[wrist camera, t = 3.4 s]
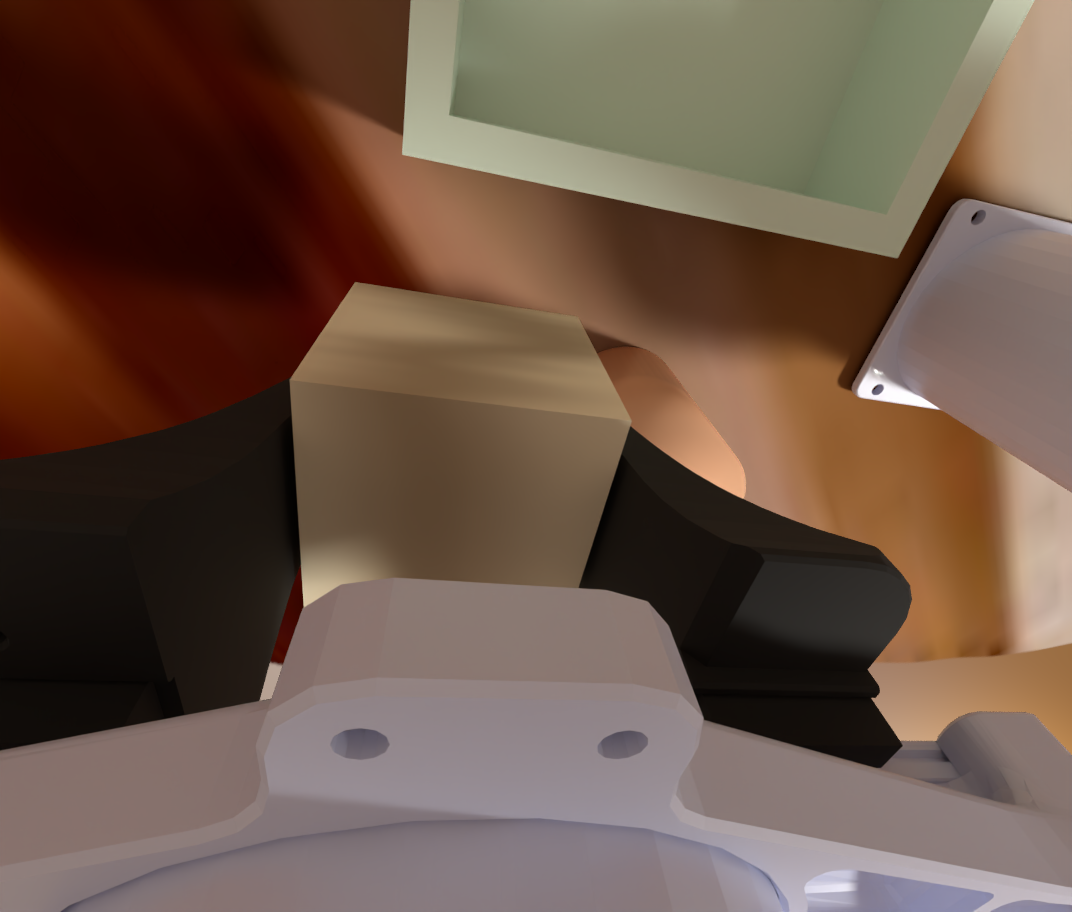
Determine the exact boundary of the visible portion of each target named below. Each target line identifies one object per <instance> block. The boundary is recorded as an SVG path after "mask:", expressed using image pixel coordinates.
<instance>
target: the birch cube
mask: <svg viewBox="0 0 1072 912" xmlns="http://www.w3.org/2000/svg"><path fill="white" fill-rule="evenodd" d="M290 394H291V410H292V426H293V442H294V458H295V474H296V490H297V506H298V522H299V537H300V553H301V569H302V585H303V601H304V607H306V606H307V605H309V604H310V603H312V602H314V601H315V600H317V599H318V598H320V597H322V596H323V595H325V594H326V593H328V592H330V591H331V590H333V589H334V588H336V587H338V586H339V585H341V584H348V583H356V582H364V581H371V580H379V579H387V578H411V579H428V580H445V581H462V582H480V583H497V584H514V585H531V586H548V587H565V588H579V584H580V581H581V578H582V575H583V572H584V569H585V566H586V563H587V559H588V556H589V553H590V550H591V547H592V544H593V541H594V538H595V534H596V531H597V528H598V525H599V522H600V519H601V516H602V513H603V509H604V506H605V503H606V500H607V497H608V494H609V491H610V488H611V484H612V481H613V478H614V475H615V472H616V469H617V466H618V463H619V459H620V456H621V453H622V450H623V447H624V444H625V441H626V438H627V434H628V431H629V428H630V425H631V422H632V420H631V418H630V416H629V414H628V412H627V410H626V409H625V407H624V405H623V403H622V401H621V399H620V397H619V395H618V393H617V391H616V389H615V387H614V385H613V383H612V382H611V380H610V378H609V376H608V374H607V372H606V370H605V368H604V366H603V364H602V362H601V360H600V358H599V357H598V355H597V353H596V351H595V349H594V347H593V345H592V343H591V341H590V339H589V337H588V335H587V333H586V331H585V330H584V328H583V326H582V324H581V322H580V320H579V318H578V317H577V316H571V315H564V314H558V313H551V312H545V311H539V310H532V309H526V308H519V307H513V306H506V305H500V304H493V303H487V302H480V301H474V300H467V299H461V298H454V297H448V296H441V295H435V294H429V293H422V292H416V291H409V290H403V289H396V288H390V287H383V286H377V285H370V284H364V283H357V282H355V283H354V285H353V286H352V288H351V289H350V291H349V292H348V294H347V295H346V297H345V298H344V300H343V301H342V303H341V304H340V306H339V307H338V309H337V310H336V312H335V313H334V315H333V316H332V318H331V319H330V321H329V322H328V324H327V325H326V327H325V328H324V329H323V331H322V332H321V334H320V335H319V337H318V338H317V340H316V341H315V343H314V344H313V346H312V347H311V349H310V350H309V352H308V353H307V355H306V356H305V358H304V359H303V361H302V362H301V364H300V365H299V367H298V368H297V370H296V371H295V373H294V374H293V376H292V377H291V379H290Z"/></svg>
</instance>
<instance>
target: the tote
mask: <svg viewBox="0 0 1072 912" xmlns="http://www.w3.org/2000/svg"><path fill="white" fill-rule="evenodd" d="M1033 2H1034V0H411V4H410V22H409V40H408V59H407V77H406V95H405V114H404V132H403V150H402V155H407V156H411V157H416V158H421V159H426V160H430V161H435V162H440V163H445V164H449V165H454V166H459V167H464V168H469V169H473V170H478V171H483V172H488V173H492V174H497V175H502V176H507V177H512V178H516V179H521V180H526V181H531V182H535V183H540V184H545V185H550V186H554V187H559V188H564V189H569V190H574V191H578V192H583V193H588V194H593V195H597V196H602V197H607V198H612V199H617V200H621V201H626V202H631V203H636V204H640V205H645V206H650V207H655V208H659V209H664V210H669V211H674V212H679V213H683V214H688V215H693V216H698V217H702V218H707V219H712V220H717V221H721V222H726V223H731V224H736V225H741V226H745V227H750V228H755V229H760V230H764V231H769V232H774V233H779V234H784V235H788V236H793V237H798V238H803V239H807V240H812V241H817V242H822V243H826V244H831V245H836V246H841V247H846V248H850V249H855V250H860V251H865V252H869V253H874V254H879V255H884V256H889V257H893V258H898V257H899V255H900V253H901V251H902V249H903V247H904V245H905V243H906V242H907V240H908V238H909V236H910V234H911V232H912V230H913V228H914V226H915V225H916V223H917V221H918V219H919V217H920V215H921V213H922V211H923V209H924V208H925V206H926V204H927V202H928V200H929V198H930V196H931V194H932V192H933V191H934V189H935V187H936V185H937V183H938V181H939V179H940V177H941V176H942V174H943V172H944V170H945V168H946V166H947V164H948V162H949V160H950V159H951V157H952V155H953V153H954V151H955V149H956V147H957V145H958V143H959V142H960V140H961V138H962V136H963V134H964V132H965V130H966V128H967V127H968V125H969V123H970V121H971V119H972V117H973V115H974V113H975V111H976V110H977V108H978V106H979V104H980V102H981V100H982V98H983V96H984V94H985V93H986V91H987V89H988V87H989V85H990V83H991V81H992V79H993V77H994V76H995V74H996V72H997V70H998V68H999V66H1000V64H1001V62H1002V61H1003V59H1004V57H1005V55H1006V53H1007V51H1008V49H1009V47H1010V45H1011V44H1012V42H1013V40H1014V38H1015V36H1016V34H1017V32H1018V30H1019V28H1020V27H1021V25H1022V23H1023V21H1024V19H1025V17H1026V15H1027V13H1028V11H1029V10H1030V8H1031V6H1032V4H1033Z"/></svg>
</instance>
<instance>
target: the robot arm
mask: <svg viewBox="0 0 1072 912" xmlns="http://www.w3.org/2000/svg"><path fill="white" fill-rule="evenodd" d="M976 212H977V216H976V218H975V219H974V220H973V221H972V222H971V219H972V216H973V215H974V214H975V213H976ZM290 379H291V377H290V378H288V379H286V380H284V381H282V382H280V383H278V384H276V385H274V386H272V387H270V388H268V389H266V390H264V391H262V392H260V393H258V394H256V395H254V396H252V397H249V398H247V399H245V400H242V401H240V402H238V403H235V404H233V405H231V406H228V407H226V408H224V409H221V410H219V411H217V412H214V413H212V414H209V415H206V416H204V417H201V418H198V419H195V420H192V421H189V422H186V423H183V424H180V425H177V426H174V427H170V428H167V429H164V430H160V431H157V432H153V433H148V434H144V435H140V436H136V437H132V438H127V439H123V440H119V441H115V442H110V443H106V444H102V445H97V446H91V447H86V448H80V449H74V450H69V451H63V452H56V453H49V454H43V455H36V456H29V457H21V458H13V459H5V460H0V912H1072V755H1071V754H1070V753H1069V752H1068V751H1067V750H1066V748H1065V747H1064V746H1063V745H1062V744H1061V743H1060V742H1059V741H1058V740H1057V739H1056V738H1055V737H1054V736H1053V735H1052V733H1051V732H1050V731H1049V730H1048V729H1047V728H1046V727H1045V726H1044V725H1043V724H1042V723H1041V722H1040V720H1039V719H1038V718H1037V717H1036V716H1035V715H1034V714H1030V713H1026V712H973V713H968V714H965V715H963V716H961V717H958V718H957V719H955V720H954V721H952V722H951V723H950V724H949V725H948V726H947V727H946V728H945V729H944V730H943V731H942V732H941V734H940V735H939V736H938V739H937V741H900V740H899V739H898V738H897V736H896V734H895V733H894V731H893V730H892V729H891V727H890V726H889V724H888V723H887V721H886V720H885V718H884V717H883V715H882V714H881V712H880V711H879V709H878V708H877V706H876V705H875V703H874V702H873V701H872V699H871V698H876V697H877V695H878V694H879V693H880V689H879V686H878V684H877V683H876V681H875V680H874V678H873V677H872V675H871V674H870V673H869V671H868V670H867V669H868V668H869V667H870V666H871V665H872V663H873V662H874V661H875V660H876V658H877V657H878V656H879V655H880V653H881V652H882V651H883V650H884V648H885V647H886V646H887V645H888V644H889V642H890V641H891V640H892V639H893V637H894V636H895V635H896V634H897V632H898V631H899V629H900V628H901V626H902V625H903V623H904V621H905V620H906V618H907V615H908V611H909V608H910V604H911V601H912V597H911V590H910V585H909V583H908V582H907V581H906V579H905V578H904V576H903V575H902V574H901V573H900V572H899V570H898V569H897V568H896V567H895V566H894V565H893V564H892V563H891V562H890V561H889V560H888V559H887V557H886V556H885V555H884V554H883V553H882V552H881V551H880V550H879V549H878V548H876V547H875V546H871V545H868V544H865V543H861V542H858V541H855V540H852V539H848V538H845V537H842V536H838V535H835V534H832V533H828V532H825V531H822V530H819V529H816V528H813V527H810V526H807V525H805V524H802V523H799V522H797V521H794V520H791V519H788V518H786V517H783V516H781V515H778V514H776V513H773V512H771V511H769V510H766V509H764V508H761V507H759V506H757V505H755V504H753V503H751V502H749V501H746V500H744V499H742V498H740V497H738V496H736V495H734V494H732V493H730V492H728V491H726V490H724V489H722V488H720V487H718V486H717V485H715V484H713V483H711V482H710V481H708V480H706V479H704V478H703V477H701V476H699V475H698V474H696V473H694V472H693V471H691V470H689V469H688V468H686V467H685V466H683V465H682V464H680V463H679V462H677V461H676V460H675V459H673V458H672V457H670V456H669V455H667V454H666V453H665V452H663V451H662V450H660V449H659V448H658V447H656V446H655V445H654V444H653V443H651V442H650V441H649V440H647V439H646V438H645V437H644V436H642V435H641V434H640V433H638V432H637V431H636V430H635V429H633V428H632V427H631V426H630V428H629V431H628V434H627V438H626V441H625V444H624V447H623V450H622V453H621V456H620V459H619V463H618V466H617V469H616V472H615V475H614V478H613V481H612V484H611V488H610V491H609V494H608V497H607V500H606V503H605V506H604V509H603V513H602V516H601V519H600V522H599V525H598V528H597V531H596V534H595V538H594V541H593V544H592V547H591V550H590V553H589V556H588V559H587V563H586V566H585V569H584V572H583V575H582V578H581V581H580V584H579V587H580V588H565V587H548V586H531V585H514V584H497V583H480V582H462V581H445V580H428V579H411V578H387V579H379V580H371V581H364V582H356V583H348V584H341V585H339V586H338V587H336V588H334V589H333V590H331V591H330V592H328V593H326V594H325V595H323V596H322V597H320V598H318V599H317V600H315V601H314V602H312V603H310V604H309V605H307V606H306V607H304V608H303V609H302V612H301V615H300V618H299V621H298V623H297V626H296V629H295V632H294V635H293V637H292V640H291V643H290V646H289V649H288V652H287V655H286V658H285V661H284V664H283V667H282V670H281V672H280V675H279V678H278V681H277V684H276V687H275V690H274V693H273V696H272V699H267V700H262V701H259V700H260V697H261V693H262V689H263V685H264V682H265V678H266V674H267V670H268V667H269V663H270V660H271V656H272V653H273V649H274V646H275V642H276V639H277V635H278V632H279V628H280V625H281V622H282V618H283V615H284V612H285V608H286V605H287V602H288V599H289V595H290V592H291V589H292V585H293V583H294V580H295V577H296V575H297V572H298V570H299V567H300V565H301V553H300V537H299V522H298V506H297V490H296V474H295V458H294V442H293V426H292V410H291V394H290ZM876 385H878V386H877V388H876V389H875V390H873V391H872V389H873V388H874V387H875V386H876ZM852 392H853V393H854V394H855V395H856V396H858V397H860V398H865V399H871V400H878V401H885V402H892V403H898V404H905V405H912V406H918V407H925V408H932V409H939V410H943V411H944V412H946V413H947V414H949V415H950V416H952V417H954V418H955V419H957V420H958V421H960V422H961V423H963V424H965V425H966V426H968V427H969V428H971V429H972V430H974V431H976V432H977V433H979V434H980V435H982V436H983V437H985V438H987V439H988V440H990V441H991V442H993V443H994V444H996V445H998V446H999V447H1001V448H1002V449H1004V450H1006V451H1007V452H1009V453H1010V454H1012V455H1013V456H1015V457H1017V458H1018V459H1020V460H1021V461H1023V462H1024V463H1026V464H1028V465H1029V466H1031V467H1032V468H1034V469H1035V470H1037V471H1039V472H1040V473H1042V474H1043V475H1045V476H1046V477H1048V478H1050V479H1051V480H1053V481H1054V482H1056V483H1057V484H1059V485H1061V486H1062V487H1064V488H1065V489H1067V490H1068V491H1070V492H1072V223H1069V222H1065V221H1060V220H1056V219H1052V218H1048V217H1044V216H1040V215H1036V214H1031V213H1027V212H1023V211H1019V210H1015V209H1011V208H1007V207H1003V206H998V205H994V204H990V203H986V202H982V201H978V200H973V199H961V200H959V201H957V202H956V203H955V204H954V205H953V206H952V207H951V208H950V210H949V211H948V213H947V215H946V216H945V218H944V220H943V222H942V224H941V225H940V227H939V229H938V231H937V233H936V235H935V236H934V238H933V240H932V242H931V244H930V245H929V247H928V249H927V251H926V253H925V254H924V256H923V258H922V260H921V262H920V263H919V265H918V267H917V269H916V271H915V272H914V274H913V276H912V278H911V280H910V281H909V283H908V285H907V287H906V289H905V290H904V292H903V294H902V296H901V298H900V300H899V301H898V303H897V305H896V307H895V309H894V310H893V312H892V314H891V316H890V318H889V319H888V321H887V323H886V325H885V327H884V328H883V330H882V332H881V334H880V336H879V337H878V339H877V341H876V343H875V345H874V346H873V348H872V350H871V352H870V354H869V355H868V357H867V359H866V361H865V363H864V365H863V366H862V368H861V370H860V372H859V374H858V375H857V377H856V379H855V381H854V383H853V385H852Z"/></svg>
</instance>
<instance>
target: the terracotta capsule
mask: <svg viewBox="0 0 1072 912" xmlns="http://www.w3.org/2000/svg"><path fill="white" fill-rule="evenodd" d="M597 355H598V357H599V358H600V360H601V362H602V364H603V366H604V368H605V370H606V372H607V374H608V376H609V378H610V380H611V382H612V383H613V385H614V387H615V389H616V391H617V393H618V395H619V397H620V399H621V401H622V403H623V405H624V407H625V409H626V410H627V412H628V414H629V416H630V418H631V420H632V422H631V425H630V426H631V427H632V428H633V429H635V430H636V431H637V432H638V433H640V434H641V435H642V436H644V437H645V438H646V439H647V440H649V441H650V442H651V443H653V444H654V445H655V446H656V447H658V448H659V449H660V450H662V451H663V452H665V453H666V454H667V455H669V456H670V457H672V458H673V459H675V460H676V461H677V462H679V463H680V464H682V465H683V466H685V467H686V468H688V469H689V470H691V471H693V472H694V473H696V474H698V475H699V476H701V477H703V478H704V479H706V480H708V481H710V482H711V483H713V484H715V485H717V486H718V487H720V488H722V489H724V490H726V491H728V492H730V493H732V494H734V495H736V496H738V497H740V498H742V499H744V496H745V489H746V478H745V474H744V470H743V467H742V465H741V463H740V461H739V460H738V458H737V457H736V455H735V454H734V453H733V452H732V450H731V449H730V448H729V446H728V445H727V444H726V442H725V441H724V440H723V438H722V437H721V436H720V434H719V433H718V432H717V430H716V429H715V428H714V427H713V425H712V424H711V423H710V421H709V420H708V419H707V417H706V416H705V415H704V413H703V412H702V411H701V409H700V408H699V407H698V405H697V404H696V403H695V401H694V400H693V399H692V398H691V396H690V395H689V394H688V392H687V391H686V390H685V388H684V387H683V386H682V384H681V383H680V382H679V380H678V379H677V378H676V376H675V375H674V374H673V372H672V371H671V370H670V369H669V367H668V366H667V365H666V363H665V362H664V361H663V360H662V359H661V358H659V357H658V356H657V355H655V354H653V353H651V352H650V351H647V350H644V349H641V348H637V347H616V348H610V349H607V350H604V351H601V352H599V353H597Z"/></svg>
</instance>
